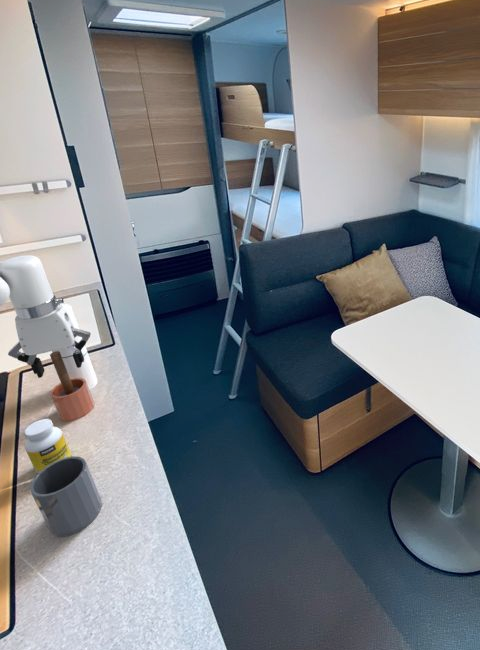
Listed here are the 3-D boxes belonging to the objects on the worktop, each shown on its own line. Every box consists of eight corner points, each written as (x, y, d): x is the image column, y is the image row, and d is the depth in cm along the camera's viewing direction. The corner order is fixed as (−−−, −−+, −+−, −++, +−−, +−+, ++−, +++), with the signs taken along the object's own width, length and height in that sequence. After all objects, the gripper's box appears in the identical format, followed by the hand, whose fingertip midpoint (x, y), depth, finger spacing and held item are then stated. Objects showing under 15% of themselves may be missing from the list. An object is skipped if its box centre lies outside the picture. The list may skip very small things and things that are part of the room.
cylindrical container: (64, 389, 116) (33, 312, 106) (91, 375, 121) (64, 301, 111) (74, 399, 112) (43, 320, 102) (102, 384, 117) (75, 308, 108)
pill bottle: (41, 484, 88) (21, 444, 83) (34, 467, 92) (15, 428, 87) (76, 465, 92) (59, 425, 88) (68, 449, 96) (52, 411, 92)
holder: (57, 426, 103) (47, 401, 100) (63, 407, 109) (53, 383, 106) (93, 416, 106) (83, 391, 103) (96, 398, 112) (87, 374, 109)
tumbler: (45, 545, 76) (24, 504, 72) (54, 506, 83) (36, 467, 79) (99, 523, 79) (82, 484, 75) (104, 488, 86) (88, 449, 82)
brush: (66, 417, 105) (43, 360, 98) (69, 408, 108) (46, 351, 101) (85, 412, 106) (63, 355, 99) (87, 402, 110) (65, 346, 103)
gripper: (83, 292, 102) (103, 351, 109) (-6, 309, 95) (21, 371, 102) (78, 305, 96) (100, 367, 103) (-17, 325, 89) (13, 389, 96)
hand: (61, 369), depth 102 cm, fingers open, 7 cm apart
